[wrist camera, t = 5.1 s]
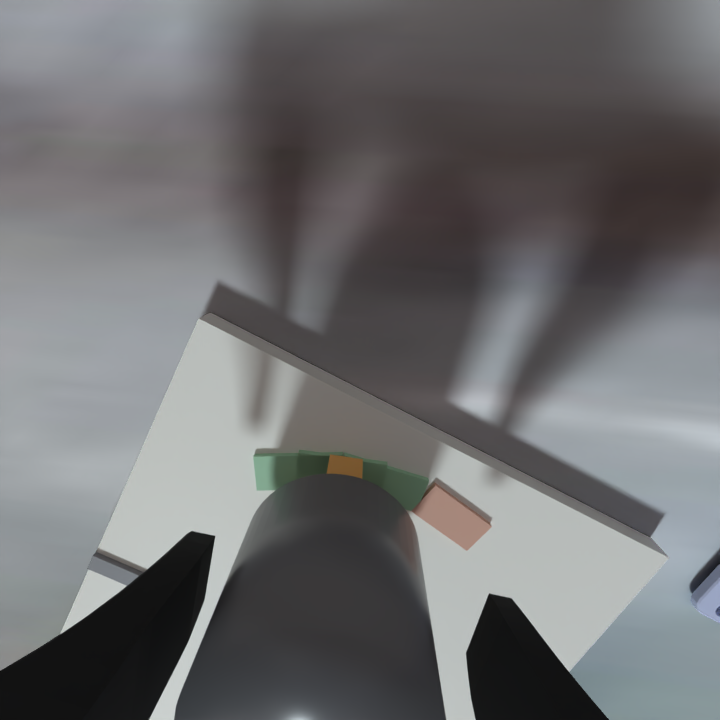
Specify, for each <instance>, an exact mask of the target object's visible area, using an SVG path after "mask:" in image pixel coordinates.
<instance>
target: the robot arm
mask: <svg viewBox="0 0 720 720" xmlns="http://www.w3.org/2000/svg"><path fill="white" fill-rule="evenodd" d="M214 541H215V536H213V535H209V534H204V533H199V532H194V531H191V532H189V533H187V534H186V535H185V536H184V537H183V538H182V539H181V540H180V541H179V542H177V543H176V544H175V545H174V546H173V547H172V548H171V549H170V550H169V551H168V552H167V553H165V554H164V555H163V556H162V557H161V558H160V559H159V560H157V561H156V562H155V563H154V564H153V565H152V566H151V567H149V568H148V569H147V570H146V571H145V572H143V573H142V574H141V575H140V576H138V577H137V578H136V579H135V580H134V581H132V582H131V583H130V584H129V585H127V586H126V587H125V588H124V589H122V590H121V591H120V592H119V593H117V594H116V595H115V596H113V597H112V598H111V599H109V600H108V601H107V602H105V603H104V604H103V605H101V606H100V607H98V608H97V609H96V610H94V611H93V612H92V613H90V614H89V615H88V616H86V617H85V618H83V619H82V620H81V621H79V622H78V623H76V624H75V625H73V626H72V627H70V628H69V629H67V630H66V631H64V632H63V633H61V634H60V635H58V636H57V637H55V638H54V639H52V640H51V641H49V642H47V643H46V644H44V645H43V646H41V647H40V648H38V649H36V650H35V651H33V652H31V653H30V654H28V655H26V656H25V657H23V658H21V659H19V660H18V661H16V662H14V663H13V664H11V665H9V666H8V667H6V668H4V669H3V670H1V671H0V720H149V719H150V717H151V715H152V713H153V711H154V709H155V707H156V705H157V703H158V701H159V699H160V697H161V695H162V693H163V691H164V689H165V687H166V685H167V683H168V681H169V679H170V677H171V676H172V674H173V672H174V670H175V668H176V666H177V664H178V662H179V660H180V658H181V656H182V654H183V652H184V650H185V648H186V646H187V644H188V641H189V639H190V636H191V634H192V631H193V629H194V626H195V624H196V621H197V619H198V616H199V613H200V611H201V608H202V606H203V603H204V600H205V595H206V589H207V583H208V577H209V571H210V565H211V559H212V553H213V547H214ZM691 603H692V605H693V606H694V607H695V608H696V609H697V611H698V612H700V613H701V614H703V615H705V616H707V617H709V618H711V619H713V620H715V621H717V622H719V623H720V564H719V565H718V566H717V567H716V568H715V569H714V570H713V572H712V573H711V574H710V575H709V576H708V577H707V578H706V579H705V580H704V581H703V582H702V583H701V585H700V586H699V587H698V588H697V589H696V590H695V591H694V592H693V594H692V596H691ZM466 660H467V669H468V679H469V687H470V695H471V701H472V706H473V710H474V715H475V719H476V720H609V719H608V718H607V717H606V716H605V715H604V713H603V712H602V711H601V710H600V709H599V708H598V706H597V705H596V704H595V703H594V702H593V701H592V699H591V698H590V697H589V696H588V695H587V693H586V692H585V691H584V690H583V689H582V687H581V686H580V685H579V684H578V683H577V681H576V680H575V679H574V678H573V676H572V675H571V674H570V673H569V671H568V670H567V669H566V668H565V666H564V665H563V664H562V663H561V661H560V660H559V659H558V657H557V656H556V655H555V654H554V652H553V651H552V650H551V648H550V647H549V646H548V644H547V643H546V642H545V641H544V639H543V638H542V637H541V635H540V634H539V633H538V631H537V630H536V629H535V627H534V626H533V625H532V624H531V622H530V621H529V620H528V618H527V617H526V616H525V614H524V613H523V612H522V611H521V609H520V608H519V607H518V605H517V604H516V603H515V602H514V601H513V599H512V598H509V597H504V596H499V595H494V594H490V593H489V595H488V597H487V600H486V602H485V605H484V607H483V610H482V613H481V615H480V618H479V620H478V623H477V626H476V628H475V631H474V633H473V636H472V639H471V641H470V644H469V646H468V649H467V652H466Z"/></svg>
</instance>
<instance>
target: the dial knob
mask: <svg viewBox="0 0 720 720" xmlns="http://www.w3.org/2000/svg"><path fill="white" fill-rule="evenodd" d="M362 471H363V459H358V458H351V457H345V456H338V455H331V454H330V457H329V463H328V468H327V474H317V475H310V476H306V477H302V478H299V479H296V480H294V481H291V482H289V483H287V484H285V485H283V486H282V487H280V488H278V489H277V490H275V491H274V492H273V493H272V494H270V495H269V496H268V497H267V498H266V499H265V500H264V501H263V502H262V503H261V505H260V506H259V508H258V509H257V510H256V512H255V514H254V516H253V518H252V520H251V522H250V525H249V527H248V529H247V532H246V534H245V537H244V539H243V542H242V544H241V546H240V549H239V551H238V554H237V556H236V559H235V561H234V563H233V566H232V568H231V571H230V573H229V576H228V578H227V581H226V583H225V585H224V588H223V590H222V593H221V595H220V598H219V600H218V602H217V605H216V607H215V610H214V612H213V615H212V617H211V619H210V622H209V624H208V627H207V629H206V632H205V634H204V637H203V639H202V641H201V644H200V646H199V649H198V651H197V654H196V656H195V658H194V661H193V663H192V666H191V668H190V671H189V673H188V676H187V678H186V680H185V683H184V685H183V688H182V690H181V693H180V695H179V698H178V701H177V704H176V709H175V716H174V720H446V715H445V708H444V702H443V696H442V689H441V683H440V676H439V670H438V664H437V657H436V651H435V644H434V638H433V632H432V625H431V619H430V612H429V606H428V600H427V593H426V587H425V580H424V574H423V568H422V561H421V555H420V548H419V542H418V536H417V532H416V529H415V526H414V523H413V521H412V519H411V517H410V515H409V514H408V513H407V511H406V510H405V508H404V507H403V506H402V505H401V504H400V503H399V501H398V500H397V499H396V498H394V497H393V496H392V495H391V494H390V493H388V492H387V491H386V490H384V489H382V488H381V487H379V486H378V485H375V484H373V483H371V482H369V481H367V480H364V479H362Z"/></svg>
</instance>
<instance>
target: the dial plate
mask: <svg viewBox="0 0 720 720" xmlns="http://www.w3.org/2000/svg"><path fill="white" fill-rule="evenodd" d="M330 454H331V455H338V456H345V457H351V458H358V459H363V471H362V479H364V480H367V481H369V482H371V483H373V484H375V485H378V486H379V487H381V488H382V489H384V490H386V491H387V492H388V493H390V494H391V495H392V496H393V497H394V498H396V499H397V500H398V501H399V503H400V504H401V505H402V506H403V507H404V508H405V510H406V511H407V513H408V514H409V515H410V517H411V519H412V521H413V523H414V526H415V529H416V532H417V536H418V542H419V548H420V555H421V561H422V568H423V574H424V580H425V587H426V593H427V600H428V606H429V612H430V619H431V625H432V632H433V638H434V644H435V651H436V657H437V664H438V670H439V676H440V683H441V689H442V696H443V702H444V708H445V715H446V720H476V719H475V715H474V710H473V706H472V701H471V695H470V687H469V679H468V669H467V660H466V652H467V649H468V646H469V644H470V641H471V639H472V636H473V633H474V631H475V628H476V626H477V623H478V620H479V618H480V615H481V613H482V610H483V607H484V605H485V602H486V600H487V597H488V595H489V593H490V594H494V595H499V596H504V597H509V598H512V599H513V601H514V602H515V603H516V604H517V605H518V607H519V608H520V609H521V611H522V612H523V613H524V614H525V616H526V617H527V618H528V620H529V621H530V622H531V624H532V625H533V626H534V627H535V629H536V630H537V631H538V633H539V634H540V635H541V637H542V638H543V639H544V641H545V642H546V643H547V644H548V646H549V647H550V648H551V650H552V651H553V652H554V654H555V655H556V656H557V657H558V659H559V660H560V661H561V663H562V664H563V665H564V666H565V668H566V669H567V670H568V671H570V670H571V669H572V668H573V667H574V666H575V665H576V663H577V662H578V661H579V660H580V659H581V658H582V657H583V655H584V654H585V653H586V652H587V651H588V650H589V649H590V647H591V646H592V645H593V644H594V643H595V642H596V641H597V640H598V638H599V637H600V636H601V635H602V634H603V633H604V632H605V630H606V629H607V628H608V627H609V626H610V625H611V624H612V623H613V621H614V620H615V619H616V618H617V617H618V616H619V615H620V613H621V612H622V611H623V610H624V609H625V608H626V607H627V605H628V604H629V603H630V602H631V601H632V600H633V599H634V598H635V596H636V595H637V594H638V593H639V592H640V591H641V590H642V588H643V587H644V586H645V585H646V584H647V583H648V582H649V581H650V579H651V578H652V577H653V576H654V575H655V574H656V573H657V571H658V570H659V569H660V568H661V567H662V566H663V565H664V563H665V562H666V561H667V560H668V559H669V557H668V556H667V555H666V554H665V553H664V551H663V550H662V549H661V548H660V547H659V546H658V545H657V544H656V543H655V542H654V541H653V539H652V538H650V537H648V536H646V535H644V534H642V533H640V532H638V531H636V530H634V529H632V528H630V527H628V526H627V525H625V524H623V523H621V522H619V521H617V520H615V519H613V518H611V517H609V516H607V515H605V514H603V513H601V512H599V511H597V510H595V509H593V508H591V507H589V506H587V505H586V504H584V503H582V502H580V501H578V500H576V499H574V498H572V497H570V496H568V495H566V494H564V493H562V492H560V491H558V490H556V489H554V488H552V487H550V486H548V485H546V484H544V483H543V482H541V481H539V480H537V479H535V478H533V477H531V476H529V475H527V474H525V473H523V472H521V471H519V470H517V469H515V468H513V467H511V466H509V465H507V464H505V463H503V462H502V461H500V460H498V459H496V458H494V457H492V456H490V455H488V454H486V453H484V452H482V451H480V450H478V449H476V448H474V447H472V446H470V445H468V444H466V443H464V442H462V441H461V440H459V439H457V438H455V437H453V436H451V435H449V434H447V433H445V432H443V431H441V430H439V429H437V428H435V427H433V426H431V425H429V424H427V423H425V422H423V421H421V420H419V419H418V418H416V417H414V416H412V415H410V414H408V413H406V412H404V411H402V410H400V409H398V408H396V407H394V406H392V405H390V404H388V403H386V402H384V401H382V400H380V399H378V398H377V397H375V396H373V395H371V394H369V393H367V392H365V391H363V390H361V389H359V388H357V387H355V386H353V385H351V384H349V383H347V382H345V381H343V380H341V379H339V378H337V377H335V376H334V375H332V374H330V373H328V372H326V371H324V370H322V369H320V368H318V367H316V366H314V365H312V364H310V363H308V362H306V361H304V360H302V359H300V358H298V357H296V356H294V355H293V354H291V353H289V352H287V351H285V350H283V349H281V348H279V347H277V346H275V345H273V344H271V343H269V342H267V341H265V340H263V339H261V338H259V337H257V336H255V335H253V334H251V333H250V332H248V331H246V330H244V329H242V328H240V327H238V326H236V325H234V324H232V323H230V322H228V321H226V320H224V319H222V318H220V317H218V316H216V315H214V314H212V313H208V314H206V315H204V316H203V317H201V318H199V319H198V321H197V323H196V326H195V328H194V330H193V333H192V335H191V337H190V339H189V342H188V344H187V346H186V349H185V351H184V353H183V355H182V358H181V360H180V362H179V364H178V367H177V369H176V371H175V374H174V376H173V378H172V380H171V383H170V385H169V387H168V390H167V392H166V394H165V396H164V399H163V401H162V403H161V406H160V408H159V410H158V412H157V415H156V417H155V419H154V421H153V424H152V426H151V428H150V431H149V433H148V435H147V437H146V440H145V442H144V444H143V447H142V449H141V451H140V453H139V456H138V458H137V460H136V463H135V465H134V467H133V469H132V472H131V474H130V476H129V479H128V481H127V483H126V485H125V488H124V490H123V492H122V494H121V497H120V499H119V501H118V504H117V506H116V508H115V510H114V513H113V515H112V517H111V520H110V522H109V524H108V526H107V529H106V531H105V533H104V536H103V538H102V540H101V542H100V545H99V547H98V549H97V551H96V553H95V554H94V555H93V557H92V559H91V561H90V564H89V566H88V568H87V569H89V570H88V572H87V574H86V577H85V579H84V581H83V583H82V586H81V588H80V590H79V593H78V595H77V597H76V599H75V602H74V604H73V606H72V608H71V611H70V613H69V615H68V618H67V620H66V622H65V624H64V627H63V629H62V631H61V633H63V632H64V631H66V630H67V629H69V628H70V627H72V626H73V625H75V624H76V623H78V622H79V621H81V620H82V619H83V618H85V617H86V616H88V615H89V614H90V613H92V612H93V611H94V610H96V609H97V608H98V607H100V606H101V605H103V604H104V603H105V602H107V601H108V600H109V599H111V598H112V597H113V596H115V595H116V594H117V593H119V592H120V591H121V590H122V589H124V588H125V587H126V586H127V585H129V584H130V583H131V582H132V581H134V580H135V579H136V578H137V577H138V576H140V575H141V574H142V573H143V572H145V571H146V570H147V569H148V568H149V567H151V566H152V565H153V564H154V563H155V562H156V561H157V560H159V559H160V558H161V557H162V556H163V555H164V554H165V553H167V552H168V551H169V550H170V549H171V548H172V547H173V546H174V545H175V544H176V543H177V542H179V541H180V540H181V539H182V538H183V537H184V536H185V535H186V534H187V533H189V532H191V531H194V532H199V533H204V534H209V535H213V536H215V541H214V547H213V553H212V559H211V565H210V571H209V577H208V583H207V589H206V595H205V600H204V603H203V606H202V608H201V611H200V613H199V616H198V619H197V621H196V624H195V626H194V629H193V631H192V634H191V636H190V639H189V641H188V644H187V646H186V648H185V650H184V652H183V654H182V656H181V658H180V660H179V662H178V664H177V666H176V668H175V670H174V672H173V674H172V676H171V677H170V679H169V681H168V683H167V685H166V687H165V689H164V691H163V693H162V695H161V697H160V699H159V701H158V703H157V705H156V707H155V709H154V711H153V713H152V715H151V717H150V719H149V720H174V716H175V709H176V704H177V701H178V698H179V695H180V693H181V690H182V688H183V685H184V683H185V680H186V678H187V676H188V673H189V671H190V668H191V666H192V663H193V661H194V658H195V656H196V654H197V651H198V649H199V646H200V644H201V641H202V639H203V637H204V634H205V632H206V629H207V627H208V624H209V622H210V619H211V617H212V615H213V612H214V610H215V607H216V605H217V602H218V600H219V598H220V595H221V593H222V590H223V588H224V585H225V583H226V581H227V578H228V576H229V573H230V571H231V568H232V566H233V563H234V561H235V559H236V556H237V554H238V551H239V549H240V546H241V544H242V542H243V539H244V537H245V534H246V532H247V529H248V527H249V525H250V522H251V520H252V518H253V516H254V514H255V512H256V510H257V509H258V508H259V506H260V505H261V503H262V502H263V501H264V500H265V499H266V498H267V497H268V496H269V495H270V494H272V493H273V492H274V491H275V490H277V489H278V488H280V487H282V486H283V485H285V484H287V483H289V482H291V481H294V480H296V479H299V478H302V477H306V476H310V475H317V474H327V468H328V463H329V457H330Z"/></svg>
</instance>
